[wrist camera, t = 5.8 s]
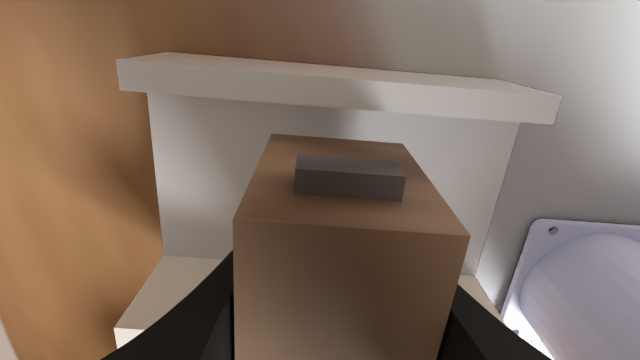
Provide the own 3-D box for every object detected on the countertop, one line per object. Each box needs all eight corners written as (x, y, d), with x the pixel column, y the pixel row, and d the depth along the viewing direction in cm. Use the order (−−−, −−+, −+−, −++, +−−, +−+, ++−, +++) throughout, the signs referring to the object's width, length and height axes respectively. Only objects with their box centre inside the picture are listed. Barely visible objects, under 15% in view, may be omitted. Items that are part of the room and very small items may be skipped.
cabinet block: (405, 126, 12) (478, 207, 7) (378, 284, 15) (414, 439, 9) (271, 116, 12) (232, 190, 6) (267, 277, 15) (235, 430, 9)
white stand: (501, 79, 16) (619, 111, 10) (450, 269, 20) (511, 380, 14) (168, 51, 16) (65, 66, 9) (184, 252, 20) (119, 358, 13)
